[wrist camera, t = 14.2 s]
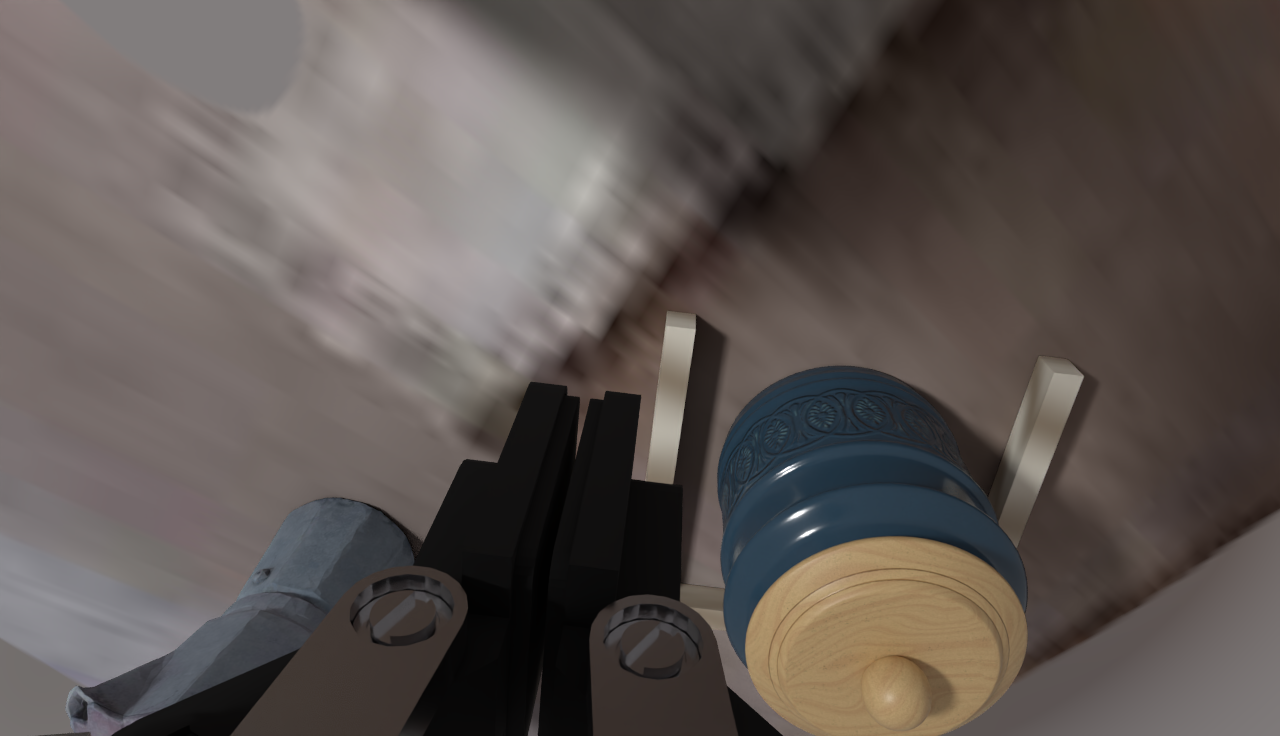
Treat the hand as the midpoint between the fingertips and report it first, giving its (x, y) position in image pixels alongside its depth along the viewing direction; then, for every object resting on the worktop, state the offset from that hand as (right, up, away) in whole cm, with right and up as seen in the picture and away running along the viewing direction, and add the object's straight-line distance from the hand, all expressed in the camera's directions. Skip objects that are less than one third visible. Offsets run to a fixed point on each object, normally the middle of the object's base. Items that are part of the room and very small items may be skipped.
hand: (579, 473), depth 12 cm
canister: (+12, -4, +34) cm, 36 cm away
